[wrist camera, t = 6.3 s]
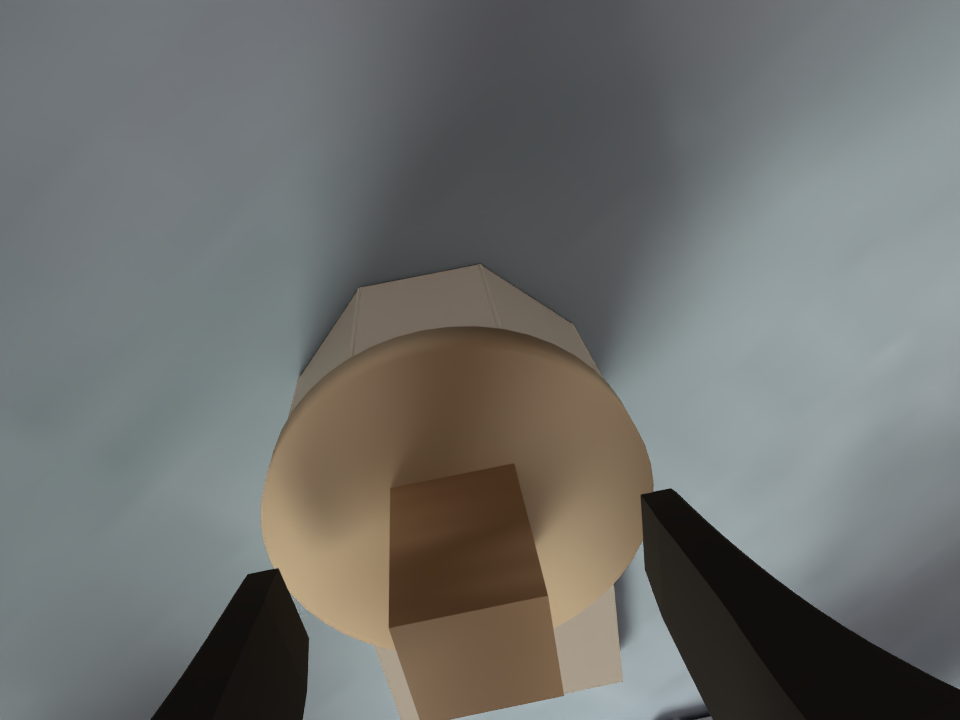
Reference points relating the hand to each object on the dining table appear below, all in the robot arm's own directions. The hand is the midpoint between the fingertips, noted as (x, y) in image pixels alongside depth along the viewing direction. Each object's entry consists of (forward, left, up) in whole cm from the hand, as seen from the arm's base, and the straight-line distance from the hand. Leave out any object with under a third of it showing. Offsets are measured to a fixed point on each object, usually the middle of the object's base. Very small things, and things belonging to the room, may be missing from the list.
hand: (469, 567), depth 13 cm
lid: (0, 0, -2) cm, 2 cm away
